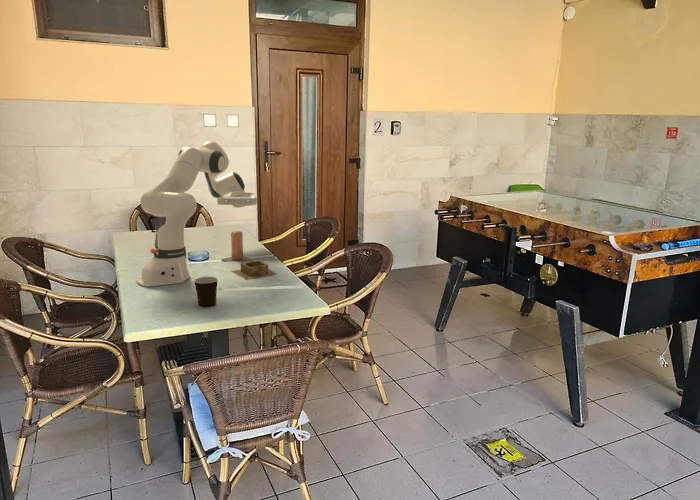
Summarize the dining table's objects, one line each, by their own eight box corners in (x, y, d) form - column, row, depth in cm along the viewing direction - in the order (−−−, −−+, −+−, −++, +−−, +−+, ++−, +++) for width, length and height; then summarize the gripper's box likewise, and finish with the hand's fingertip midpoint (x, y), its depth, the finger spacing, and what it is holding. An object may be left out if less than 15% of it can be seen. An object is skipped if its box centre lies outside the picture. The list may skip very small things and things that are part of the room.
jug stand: (246, 282, 232) (246, 271, 230) (230, 273, 244) (230, 262, 243) (278, 276, 241) (278, 265, 240) (261, 268, 253) (261, 257, 252)
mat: (231, 265, 257) (231, 264, 256) (221, 260, 266) (221, 258, 266) (253, 262, 264) (253, 260, 264) (243, 256, 273) (243, 255, 273)
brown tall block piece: (232, 258, 267) (231, 231, 264) (243, 258, 268) (242, 231, 264) (231, 262, 259) (230, 234, 256) (242, 262, 260) (241, 234, 257)
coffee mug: (212, 309, 199) (211, 284, 196) (191, 307, 200) (190, 282, 198) (225, 299, 210) (224, 275, 207) (205, 297, 211) (204, 273, 209)
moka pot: (179, 245, 295) (177, 210, 290) (156, 250, 282) (154, 213, 277) (168, 242, 300) (166, 208, 295) (145, 248, 287) (142, 211, 282)
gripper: (217, 193, 280) (215, 196, 267) (256, 193, 284) (256, 196, 270) (218, 204, 282) (216, 209, 269) (256, 204, 285) (256, 209, 272)
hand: (236, 202), depth 269 cm, fingers open, 8 cm apart
